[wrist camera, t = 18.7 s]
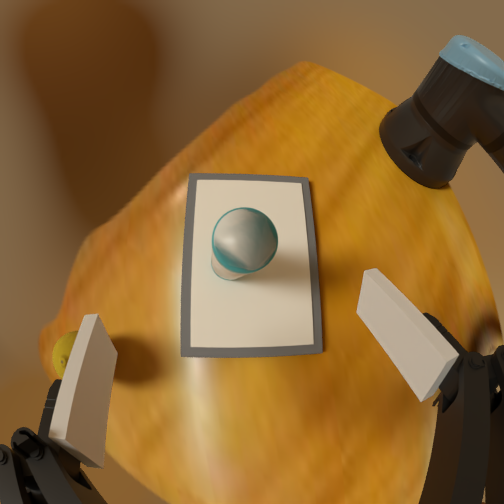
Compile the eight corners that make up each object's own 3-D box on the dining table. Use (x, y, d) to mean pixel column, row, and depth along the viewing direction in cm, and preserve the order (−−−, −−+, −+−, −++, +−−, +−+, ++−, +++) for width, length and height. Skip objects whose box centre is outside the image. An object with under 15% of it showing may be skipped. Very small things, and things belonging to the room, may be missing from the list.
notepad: (306, 181, 33) (308, 176, 32) (319, 352, 27) (323, 353, 26) (190, 177, 32) (189, 172, 31) (182, 356, 26) (180, 356, 25)
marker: (235, 236, 28) (255, 196, 16) (255, 268, 28) (290, 250, 16) (202, 255, 27) (199, 228, 16) (223, 288, 27) (235, 285, 15)
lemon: (74, 337, 25) (32, 333, 17) (116, 328, 26) (81, 322, 18) (86, 386, 23) (47, 396, 16) (130, 379, 24) (98, 391, 17)
